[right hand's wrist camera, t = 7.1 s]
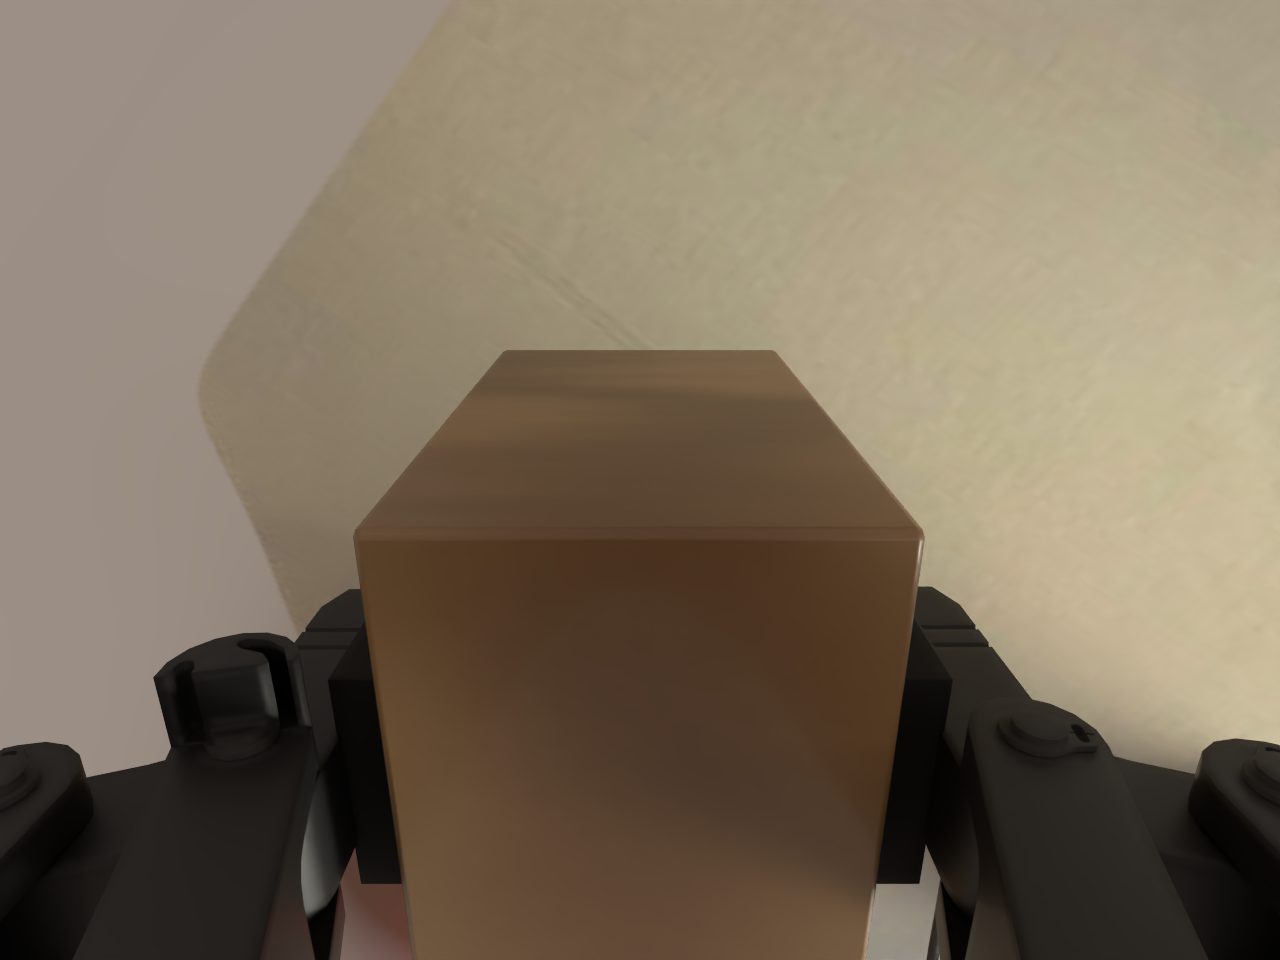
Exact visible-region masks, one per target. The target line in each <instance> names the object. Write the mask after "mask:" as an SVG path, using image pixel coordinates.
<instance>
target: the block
mask: <svg viewBox="0 0 1280 960" xmlns="http://www.w3.org/2000/svg"><path fill="white" fill-rule="evenodd" d="M353 539H354V546H355V553H356V560H357V567H358V574H359V581H360V588H361V595H362V602H363V610H364V617H365V624H366V631H367V638H368V645H369V652H370V659H371V666H372V674H373V681H374V688H375V695H376V702H377V709H378V716H379V723H380V730H381V737H382V745H383V752H384V759H385V766H386V773H387V780H388V787H389V794H390V801H391V809H392V816H393V823H394V830H395V837H396V844H397V851H398V858H399V865H400V872H401V880H402V887H403V894H404V901H405V908H406V915H407V922H408V929H409V936H410V944H411V950H412V958H413V960H866V954H867V947H868V940H869V933H870V926H871V918H872V911H873V904H874V897H875V890H876V883H877V876H878V868H879V861H880V854H881V847H882V840H883V833H884V826H885V818H886V811H887V804H888V797H889V790H890V783H891V775H892V768H893V761H894V754H895V747H896V740H897V733H898V725H899V718H900V711H901V704H902V697H903V690H904V683H905V675H906V668H907V661H908V654H909V647H910V640H911V633H912V625H913V618H914V611H915V604H916V597H917V590H918V583H919V575H920V568H921V561H922V554H923V547H924V540H925V536H924V533H923V530H922V528H921V527H920V526H919V525H918V524H917V522H916V521H915V520H914V519H913V518H912V516H911V515H910V514H909V513H908V511H907V510H906V509H905V508H904V507H903V505H902V504H901V503H900V502H899V501H898V499H897V498H896V497H895V496H894V495H893V493H892V492H891V491H890V490H889V488H888V487H887V486H886V485H885V484H884V482H883V481H882V480H881V479H880V478H879V476H878V475H877V474H876V473H875V471H874V470H873V469H872V468H871V467H870V465H869V464H868V463H867V462H866V461H865V459H864V458H863V457H862V456H861V455H860V453H859V452H858V451H857V450H856V448H855V447H854V446H853V445H852V444H851V442H850V441H849V440H848V439H847V438H846V436H845V435H844V434H843V433H842V432H841V430H840V429H839V428H838V427H837V425H836V424H835V423H834V422H833V421H832V419H831V418H830V417H829V416H828V415H827V413H826V412H825V411H824V410H823V409H822V407H821V406H820V405H819V404H818V402H817V401H816V400H815V399H814V398H813V396H812V395H811V394H810V393H809V392H808V390H807V389H806V388H805V387H804V385H803V384H802V383H801V382H800V381H799V379H798V378H797V377H796V376H795V375H794V373H793V372H792V371H791V370H790V369H789V367H788V366H787V365H786V364H785V362H784V361H783V360H782V359H781V358H780V356H779V355H778V354H777V353H776V352H775V351H772V350H507V351H504V352H503V353H502V354H501V355H500V357H499V358H498V359H497V360H496V361H495V363H494V364H493V365H492V366H491V367H490V369H489V370H488V371H487V372H486V373H485V375H484V376H483V377H482V378H481V379H480V381H479V382H478V383H477V384H476V385H475V387H474V388H473V389H472V390H471V391H470V393H469V394H468V395H467V396H466V397H465V399H464V400H463V401H462V402H461V403H460V405H459V406H458V407H457V408H456V409H455V411H454V412H453V413H452V414H451V415H450V417H449V418H448V419H447V420H446V421H445V423H444V424H443V425H442V426H441V428H440V429H439V430H438V431H437V432H436V434H435V435H434V436H433V437H432V438H431V440H430V441H429V442H428V443H427V444H426V446H425V447H424V448H423V449H422V450H421V452H420V453H419V454H418V455H417V456H416V458H415V459H414V460H413V461H412V462H411V464H410V465H409V466H408V467H407V468H406V470H405V471H404V472H403V473H402V474H401V476H400V477H399V478H398V479H397V480H396V482H395V483H394V484H393V485H392V486H391V488H390V489H389V490H388V491H387V492H386V494H385V495H384V496H383V497H382V499H381V500H380V501H379V502H378V503H377V505H376V506H375V507H374V508H373V509H372V511H371V512H370V513H369V514H368V515H367V517H366V518H365V519H364V520H363V521H362V523H361V524H360V525H359V526H358V527H357V529H356V530H355V533H354V536H353Z"/></svg>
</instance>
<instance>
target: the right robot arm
mask: <svg viewBox="0 0 1280 960" xmlns="http://www.w3.org/2000/svg"><path fill="white" fill-rule="evenodd" d="M988 643H989V642H988V641H987V640H986V639H985V637H984V636H983V635H982V633H981V632H980V631H979V629H975V624H974V623H973V622H972V620H971V619H970V618H969V616H968V615H967V614H966V612H965V611H964V610H963V608H962V607H961V606H960V605H959V604H958V603H956V602H955V601H953V600H952V599H950V598H948V597H947V596H945V595H944V594H942V593H941V592H939V591H938V590H936V589H934V588H933V587H918V590H917V597H916V604H915V611H914V618H913V625H912V633H911V640H910V647H909V654H908V661H907V668H906V675H905V683H904V690H903V697H902V704H901V711H900V718H899V725H898V733H897V740H896V747H895V754H894V761H893V768H892V775H891V783H890V790H889V797H888V804H887V811H886V818H885V826H884V833H883V840H882V847H881V854H880V861H879V868H878V876H877V883H876V884H919V882H920V876H921V870H922V864H923V858H924V852H925V846H926V845H927V848H928V850H929V852H930V855H931V857H932V859H933V862H934V864H935V866H936V868H937V871H938V873H939V875H940V878H941V879H940V885H939V890H938V896H937V902H936V907H935V913H934V919H933V924H932V930H931V936H930V941H929V947H928V954H927V960H938V957H939V953H940V960H1280V746H1279V745H1277V744H1272V743H1268V742H1262V741H1253V740H1244V739H1229V740H1222V741H1216V742H1213V743H1212V744H1211V745H1209V746H1208V747H1207V748H1206V749H1204V750H1203V751H1202V754H1201V757H1200V760H1199V764H1198V767H1197V770H1196V773H1195V774H1191V773H1186V772H1182V771H1177V770H1172V769H1167V768H1162V767H1157V766H1152V765H1148V764H1143V763H1138V762H1133V761H1129V760H1126V759H1122V758H1118V757H1115V756H1113V754H1112V752H1111V750H1110V748H1109V746H1108V745H1107V743H1106V742H1105V741H1104V739H1103V738H1102V737H1101V735H1100V734H1099V733H1098V732H1097V730H1096V729H1094V728H1093V727H1092V726H1090V725H1089V724H1087V723H1086V722H1085V721H1083V720H1082V719H1080V718H1079V717H1078V716H1076V715H1074V714H1072V713H1070V712H1068V711H1065V710H1063V709H1061V708H1058V707H1056V706H1054V705H1052V704H1049V703H1044V702H1040V701H1036V700H1032V699H1031V697H1030V696H1029V695H1028V694H1027V692H1026V691H1025V690H1024V688H1023V687H1022V686H1021V684H1020V683H1019V682H1018V680H1017V679H1016V678H1015V677H1014V675H1013V674H1012V673H1011V671H1010V670H1009V669H1008V667H1007V666H1006V665H1005V663H1004V662H1003V661H1002V660H1001V658H1000V657H999V656H998V654H997V653H996V652H995V650H994V649H993V648H992V647H989V645H988ZM153 678H154V682H155V686H156V690H157V694H158V697H159V702H160V705H161V709H162V713H163V717H164V721H165V725H166V729H167V733H168V737H169V741H170V744H171V749H170V751H169V753H168V756H167V758H166V760H164V761H160V762H157V763H153V764H149V765H145V766H140V767H135V768H130V769H126V770H121V771H116V772H111V773H106V774H101V775H97V776H92V777H87V778H86V774H85V771H84V768H83V765H82V761H81V758H80V755H79V754H78V753H77V752H75V751H74V750H73V749H72V748H70V747H69V746H68V745H63V744H56V743H50V742H41V743H33V744H25V745H17V746H12V747H8V748H3V749H2V750H0V960H340V955H341V946H342V937H343V929H344V921H345V910H344V903H343V896H342V890H341V885H340V881H341V878H342V876H343V874H344V872H345V869H346V867H347V864H348V862H349V860H350V858H351V855H352V853H353V851H354V848H355V849H356V855H357V861H358V867H359V873H360V879H361V884H402V880H401V872H400V865H399V858H398V851H397V844H396V837H395V830H394V823H393V816H392V809H391V801H390V794H389V787H388V780H387V773H386V766H385V759H384V752H383V745H382V737H381V730H380V723H379V716H378V709H377V702H376V695H375V688H374V681H373V674H372V666H371V659H370V652H369V645H368V638H367V631H366V624H365V617H364V610H363V602H362V595H361V589H349V590H347V591H346V592H344V593H343V594H341V595H340V596H338V597H336V598H335V599H333V600H332V601H330V602H329V603H327V604H326V605H324V606H322V607H321V608H320V610H319V611H318V612H317V614H316V615H315V616H314V618H313V619H312V620H311V622H310V623H309V624H308V626H307V627H306V632H302V633H301V635H300V636H299V637H298V639H297V640H296V641H295V643H294V642H292V641H291V640H290V639H288V638H287V637H284V636H280V635H276V634H271V633H242V634H237V635H232V636H227V637H222V638H217V639H214V640H211V641H209V642H206V643H203V644H201V645H198V646H195V647H193V648H190V649H188V650H186V651H185V652H183V653H182V654H180V655H178V656H177V657H175V658H174V659H172V660H170V661H169V662H167V663H166V664H165V665H164V666H163V667H162V669H161V670H160V671H159V672H158V673H157V674H156V675H155V676H154V677H153Z"/></svg>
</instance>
